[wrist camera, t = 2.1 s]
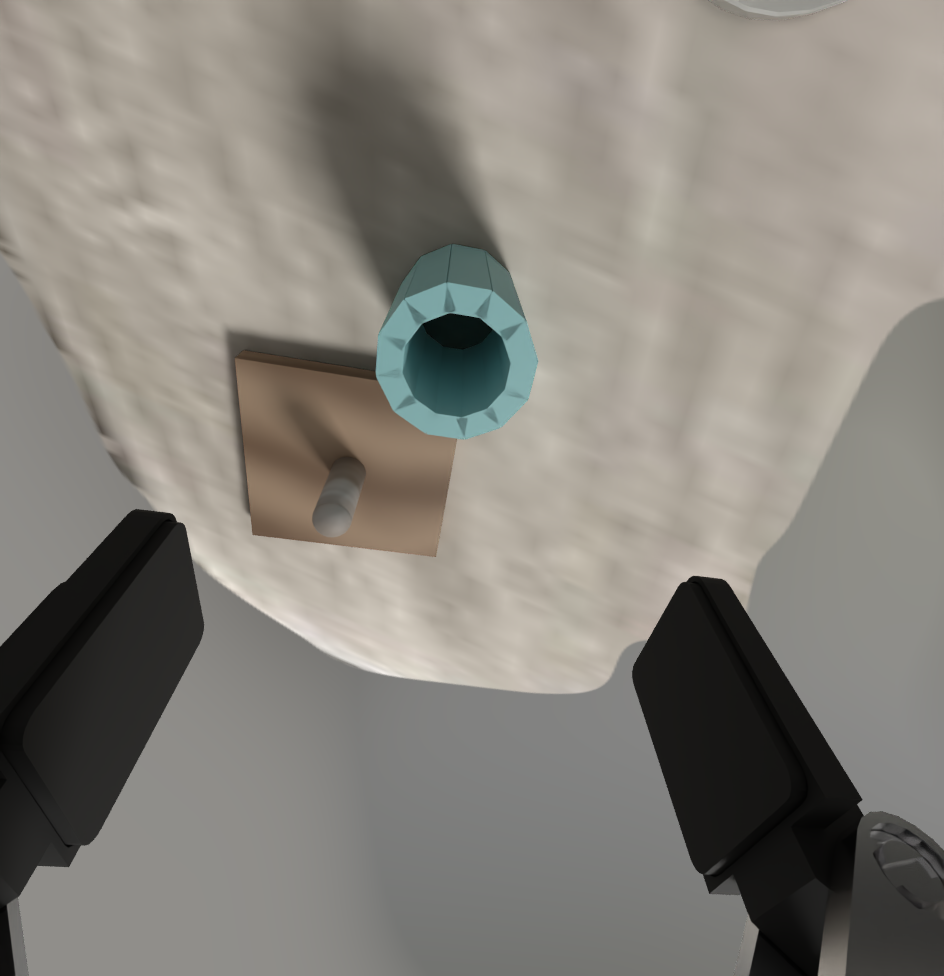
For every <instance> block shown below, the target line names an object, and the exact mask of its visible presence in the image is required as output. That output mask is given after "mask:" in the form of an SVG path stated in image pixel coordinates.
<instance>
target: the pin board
mask: <svg viewBox="0 0 944 976" xmlns="http://www.w3.org/2000/svg"><path fill="white" fill-rule="evenodd" d="M235 366H236V376H237V386H238V396H239V405H240V415H241V425H242V435H243V445H244V455H245V464H246V474H247V484H248V494H249V504H250V514H251V523H252V533H253V535H258V536H267V537H275V538H283V539H291V540H300V541H308V542H316V543H325V544H333V545H341V546H349V547H358V548H366V549H374V550H383V551H391V552H399V553H407V554H416V555H424V556H432V557H436V553H437V548H438V542H439V537H440V531H441V526H442V520H443V514H444V509H445V503H446V498H447V492H448V487H449V481H450V475H451V470H452V464H453V459H454V453H455V448H456V442H457V439H456V438H449V437H442V436H435V435H429V434H425V433H424V432H422V431H421V430H419V429H418V428H416V427H415V426H414V425H412V424H411V423H409V422H408V421H406V420H405V419H404V418H402V417H401V416H399V415H398V414H396V413H395V412H394V411H393V409H392V407H391V405H390V403H389V401H388V399H387V397H386V395H385V393H384V391H383V389H382V387H381V385H380V384H379V382H378V380H377V378H376V371H370V370H364V369H358V368H352V367H345V366H339V365H333V364H327V363H320V362H314V361H308V360H301V359H295V358H289V357H283V356H276V355H270V354H264V353H258V352H251V351H245V350H243V351H242V352H241V353H240V354H239V355H238V356H237V357H235ZM426 433H427V432H426Z"/></svg>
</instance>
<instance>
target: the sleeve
mask: <svg viewBox="0 0 944 976" xmlns="http://www.w3.org/2000/svg"><path fill="white" fill-rule="evenodd" d="M448 313H454V314H460V315H466V316H471V317H477V318H480V319H482V320H483V321H484V322H485V323H486V324H487V325H489V326H490V327H491V328H492V329H493V330H492V331H491V332H490V333H489V335H488V336H487V337H486V338H485V339H484V340H483V342H482V343H480V344H477V345H474V346H471V347H469V348H466V349H463V350H462V349H456V348H450V347H444V346H442V345H440V344H439V343H438V342H437V341H435V340H434V339H433V338H432V337H430V336H429V335H428V334H427V333H426V331H425V328H424V326H423V323H425V322H427V321H430V320H433V319H435V318H438V317H440V316H443V315H446V314H448ZM537 364H538V358H537V355H536V352H535V348H534V345H533V342H532V338H531V335H530V332H529V328H528V325H527V321H526V319H525V316H524V313H523V310H522V307H521V304H520V301H519V298H518V296H517V293H516V290H515V287H514V284H513V281H512V278H511V275H510V273H509V272H508V271H507V270H506V269H505V268H504V267H503V266H502V265H501V264H500V263H498V262H497V261H496V260H495V259H494V258H493V257H492V256H491V255H490V254H489V253H488V252H487V251H486V250H483V249H477V248H472V247H467V246H462V245H456V244H450V245H447V246H445V247H442V248H440V249H437V250H435V251H433V252H430V253H428V254H425V255H423V256H421V257H420V258H419V260H418V261H417V262H416V264H415V265H414V267H413V268H412V269H411V271H410V272H409V274H408V275H407V276H406V278H405V279H404V281H403V282H402V284H401V286H400V288H399V290H398V292H397V295H396V297H395V299H394V301H393V303H392V306H391V308H390V310H389V312H388V314H387V317H386V319H385V321H384V323H383V325H382V327H381V330H380V332H379V334H378V346H377V361H376V378H377V380H378V382H379V384H380V385H381V387H382V389H383V391H384V393H385V395H386V397H387V399H388V401H389V403H390V405H391V407H392V409H393V411H394V412H395V413H396V414H398V415H399V416H401V417H402V418H404V419H405V420H406V421H408V422H409V423H411V424H412V425H414V426H415V427H416V428H418V429H419V430H421V431H422V432H424V433H425V434H429V435H435V436H442V437H449V438H456V439H463V440H464V439H468V438H471V437H474V436H477V435H480V434H483V433H486V432H490V431H493V430H496V429H499V428H500V427H502V426H503V425H504V424H505V423H506V422H507V421H508V420H509V419H510V418H511V417H512V416H513V415H514V414H515V413H516V412H517V411H518V410H519V409H520V408H521V407H522V406H523V405H524V404H525V403H526V402H527V401H528V399H529V395H530V391H531V387H532V383H533V379H534V376H535V372H536V368H537ZM426 432H427V433H426Z"/></svg>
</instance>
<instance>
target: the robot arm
mask: <svg viewBox="0 0 944 976" xmlns="http://www.w3.org/2000/svg"><path fill="white" fill-rule="evenodd" d="M708 1H710V2H711V3H713V4H714V5H715V6H717V7H718V8H720V9H721V10H724V11H727V12H730V13H733V14H736V15H739V16H742V17H745V18H748V19H754V20H776V21H782V20H787V19H791V18H796V17H801V16H806V15H811V14H815V13H817V12H820V11H822V10H825V9H827V8H830V7H832V6H835V5H838V4H841V3H844V2H845V1H847V0H708ZM203 631H204V621H203V616H202V610H201V605H200V600H199V595H198V590H197V584H196V579H195V574H194V569H193V564H192V558H191V553H190V548H189V542H188V537H187V532H186V528H185V525H184V524H183V523H179V522H177V521H176V518H175V516H174V515H173V514H171V513H165V512H156V511H148V510H139V509H136V510H133V511H131V512H130V513H129V514H127V516H126V517H125V518H124V519H123V520H122V521H121V522H120V523H119V524H118V526H116V528H115V529H114V530H113V531H112V532H111V533H110V534H109V535H108V536H107V537H106V538H105V539H104V541H103V542H102V543H101V544H100V545H99V546H98V547H97V548H96V549H95V550H94V552H93V553H92V554H91V555H90V556H89V557H88V558H87V559H86V561H84V562H83V564H82V565H81V566H80V567H79V568H78V569H77V570H76V571H75V572H74V573H73V574H72V575H71V576H70V578H69V579H68V580H67V581H66V582H63V583H61V584H60V585H59V586H57V587H56V588H55V589H54V590H53V591H52V592H51V593H50V594H49V595H48V596H47V597H46V598H45V599H44V600H43V601H42V602H41V603H40V604H39V606H38V607H37V608H36V609H35V610H34V611H33V612H32V613H31V614H30V615H29V616H28V617H27V618H26V620H25V621H24V622H23V623H22V624H21V625H20V626H19V627H18V628H17V629H16V630H15V631H14V632H13V633H12V635H11V636H10V637H9V638H8V639H7V640H6V641H5V642H4V643H3V644H2V646H0V976H29V974H28V966H27V959H26V952H25V945H24V937H23V931H22V923H21V916H20V909H19V902H18V897H19V895H20V894H21V892H22V891H23V889H24V887H25V885H26V884H27V882H28V880H29V878H30V877H31V875H32V874H33V872H34V870H35V868H36V867H37V866H56V867H69V866H70V864H71V862H72V860H73V859H74V857H75V855H76V853H77V851H78V849H79V848H80V846H81V845H88V844H90V843H91V842H92V841H93V840H94V838H95V837H96V836H97V835H98V833H99V831H100V830H101V828H102V826H103V824H104V822H105V820H106V818H107V817H108V815H109V813H110V811H111V809H112V807H113V805H114V804H115V802H116V799H117V798H118V796H119V794H120V792H121V790H122V788H123V786H124V785H125V783H126V781H127V779H128V777H129V775H130V773H131V771H132V770H133V768H134V766H135V764H136V762H137V760H138V758H139V756H140V755H141V753H142V751H143V749H144V747H145V745H146V743H147V741H148V739H149V738H150V736H151V734H152V732H153V730H154V728H155V726H156V724H157V722H158V721H159V719H160V717H161V715H162V713H163V711H164V709H165V707H166V706H167V704H168V702H169V700H170V698H171V696H172V694H173V692H174V691H175V689H176V687H177V685H178V683H179V681H180V679H181V677H182V675H183V674H184V672H185V670H186V668H187V666H188V664H189V662H190V660H191V659H192V657H193V655H194V653H195V651H196V649H197V647H198V645H199V643H200V641H201V638H202V635H203ZM632 678H633V683H634V686H635V690H636V693H637V696H638V699H639V702H640V705H641V708H642V711H643V714H644V717H645V720H646V723H647V726H648V730H649V732H650V736H651V739H652V742H653V745H654V748H655V751H656V754H657V757H658V760H659V763H660V766H661V769H662V773H663V776H664V778H665V782H666V784H667V788H668V791H669V794H670V797H671V800H672V803H673V806H674V809H675V812H676V815H677V818H678V821H679V825H680V828H681V831H682V834H683V837H684V840H685V843H686V846H687V849H688V852H689V855H690V858H691V861H692V863H693V865H694V867H695V868H696V870H697V871H698V872H699V873H701V874H703V876H704V879H705V882H706V885H707V888H708V891H709V894H725V895H740V894H741V896H742V899H743V901H744V904H745V907H746V909H747V912H748V916H747V921H746V925H745V929H744V933H743V938H742V942H741V946H740V950H739V954H738V958H737V963H736V967H735V971H734V975H733V976H944V850H943V849H942V848H941V847H940V846H939V845H938V844H937V843H936V842H935V841H934V840H933V839H932V838H931V837H929V836H928V835H927V834H925V833H924V832H923V831H921V830H920V829H919V828H917V827H916V826H915V825H913V824H911V823H910V822H908V821H906V820H904V819H902V818H900V817H899V816H896V815H892V814H889V813H886V812H883V811H880V812H869V813H868V814H866V815H865V816H864V815H863V814H862V812H861V810H860V809H859V807H858V805H857V804H858V803H859V802H860V801H862V798H861V796H860V795H859V793H858V792H857V790H856V788H855V787H854V785H853V783H852V782H851V780H850V779H849V777H848V775H847V774H846V772H845V771H844V769H843V767H842V766H841V764H840V763H839V761H838V759H837V758H836V756H835V755H834V753H833V751H832V750H831V748H830V747H829V745H828V743H827V742H826V740H825V738H824V737H823V735H822V734H821V732H820V730H819V729H818V727H817V726H816V724H815V722H814V721H813V719H812V718H811V716H810V714H809V713H808V711H807V709H806V708H805V706H804V705H803V703H802V701H801V700H800V698H799V697H798V695H797V693H796V692H795V690H794V689H793V687H792V685H791V684H790V682H789V681H788V679H787V677H786V676H785V674H784V672H783V671H782V669H781V668H780V666H779V664H778V663H777V661H776V660H775V658H774V656H773V655H772V653H771V651H770V650H769V648H768V647H767V645H766V643H765V642H764V640H763V639H762V637H761V635H760V634H759V632H758V631H757V629H756V627H755V626H754V624H753V622H752V621H751V619H750V618H749V616H748V614H747V613H746V611H745V610H744V608H743V606H742V605H741V603H740V602H739V600H738V598H737V597H736V595H735V594H734V592H733V590H732V589H731V587H730V585H729V584H728V583H727V582H726V581H725V580H723V579H717V578H709V577H701V576H692V577H691V578H689V579H688V581H687V582H683V583H681V584H680V585H679V586H678V588H677V590H676V592H675V593H674V595H673V597H672V599H671V600H670V602H669V604H668V606H667V607H666V609H665V611H664V613H663V614H662V616H661V618H660V620H659V621H658V623H657V625H656V627H655V628H654V630H653V632H652V634H651V636H650V637H649V639H648V641H647V643H646V644H645V646H644V648H643V650H642V651H641V653H640V655H639V657H638V658H637V660H636V662H635V664H634V666H633V671H632Z"/></svg>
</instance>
